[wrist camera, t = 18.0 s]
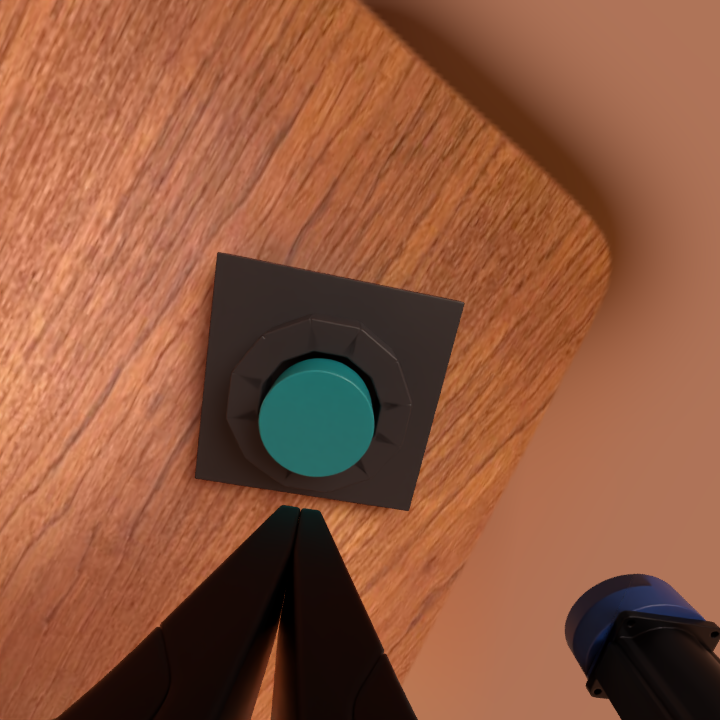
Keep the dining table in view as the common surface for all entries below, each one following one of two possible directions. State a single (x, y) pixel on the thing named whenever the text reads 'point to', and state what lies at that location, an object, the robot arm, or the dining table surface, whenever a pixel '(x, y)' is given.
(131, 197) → the dining table surface
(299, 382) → the button
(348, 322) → the panel
